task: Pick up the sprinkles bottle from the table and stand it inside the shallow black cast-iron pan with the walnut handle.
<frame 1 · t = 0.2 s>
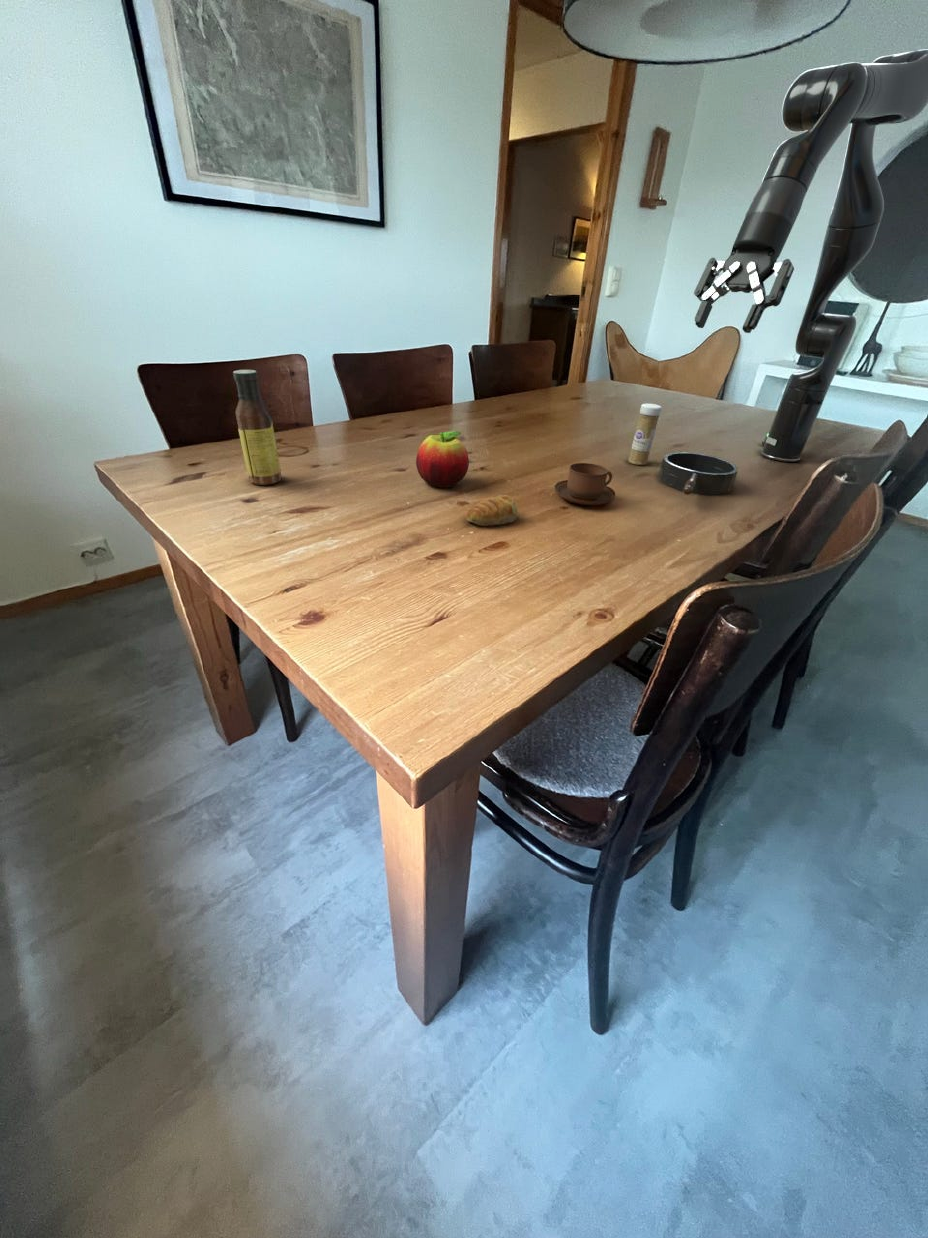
hand: (721, 328, 90), 31 cm above the table, tool tilted 20°, fingers open, 8 cm apart
sauce bottle: (265, 481, 104), on the table
pan: (694, 482, 118), on the table
cup and saucer: (582, 499, 105), on the table
sprinkles bottle: (637, 463, 128), on the table
fruit: (441, 483, 108), on the table
pastry: (492, 520, 94), on the table
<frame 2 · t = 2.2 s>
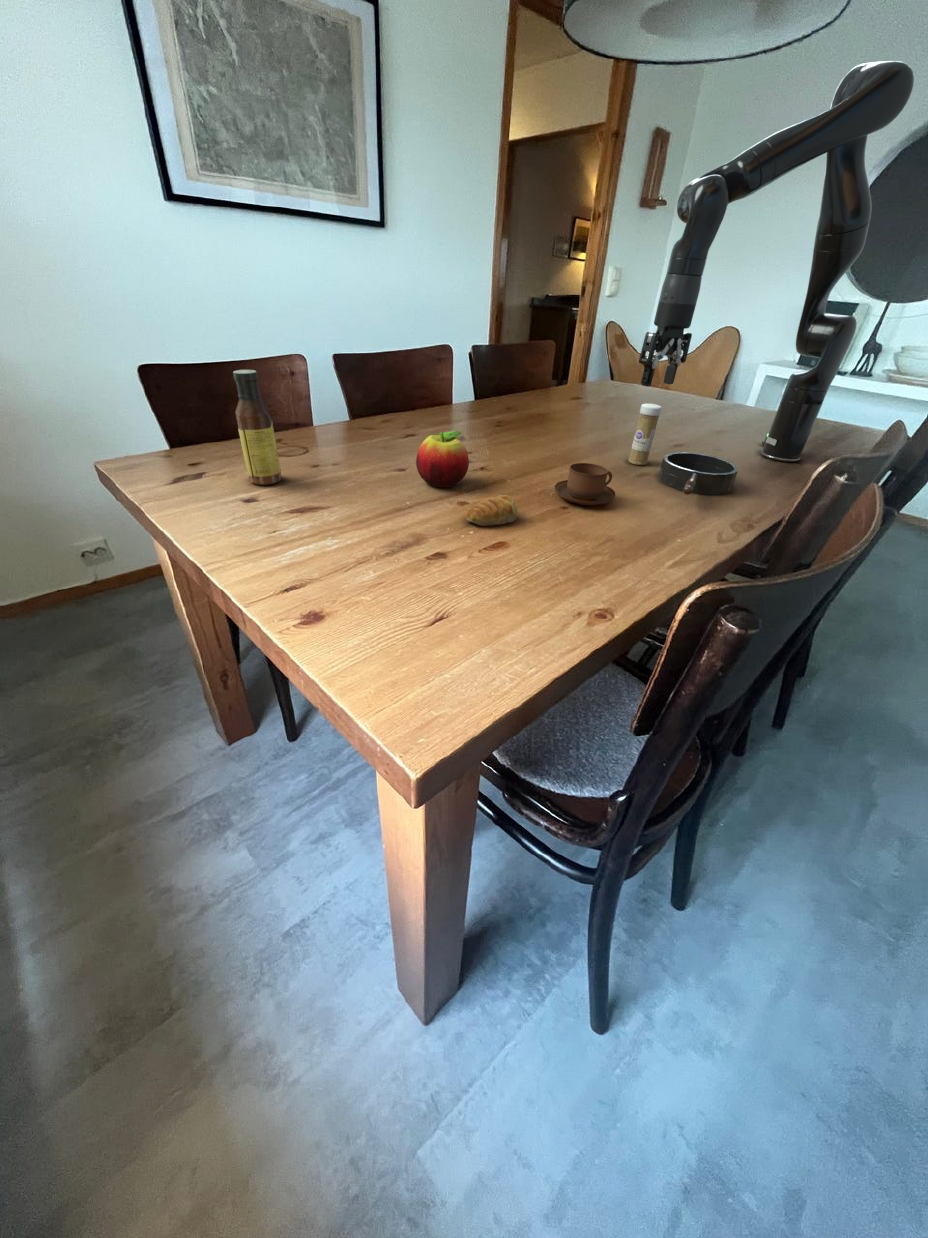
hand: (657, 384, 118), 18 cm above the table, tool pointing down, fingers open, 8 cm apart
nothing on the table moved.
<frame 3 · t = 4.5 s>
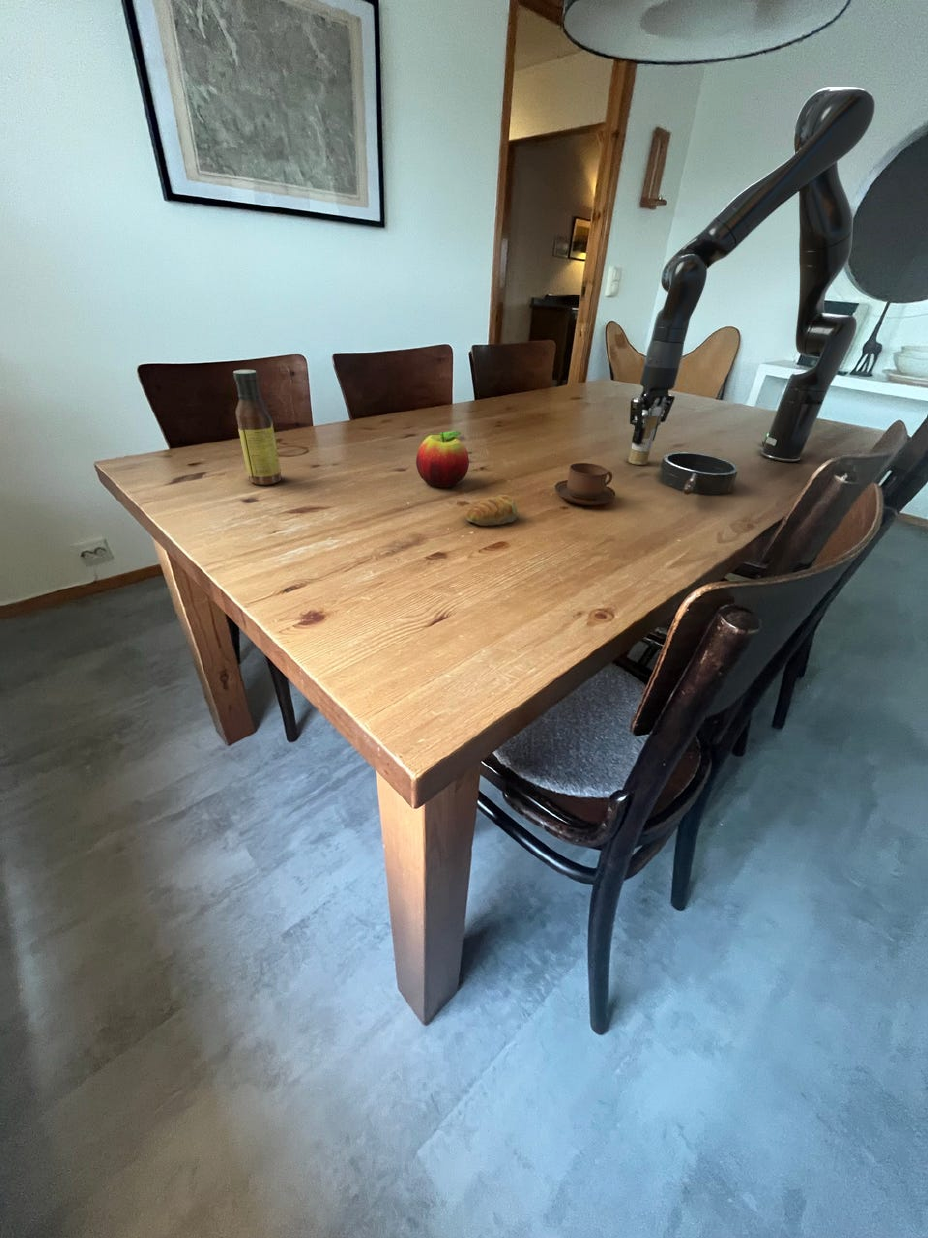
hand: (642, 441, 125), 5 cm above the table, tool pointing down, fingers closed on sprinkles bottle, 4 cm apart
sprinkles bottle: (637, 463, 128), on the table, touching gripper
everything else where it was.
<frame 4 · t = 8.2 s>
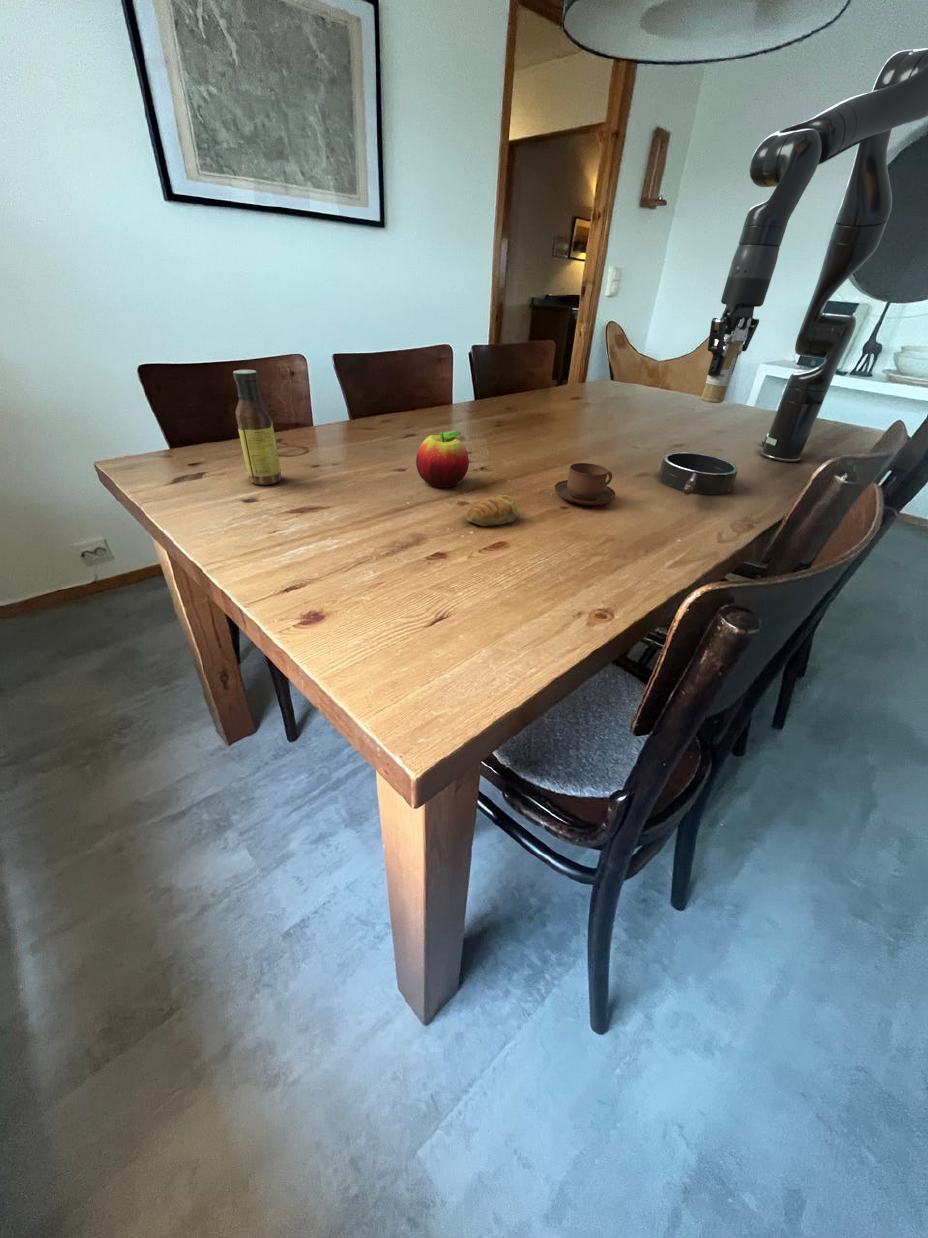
hand: (719, 374, 107), 22 cm above the table, tool pointing down, fingers closed on sprinkles bottle, 4 cm apart
sprinkles bottle: (711, 402, 110), point 17 cm above the table, touching gripper
everything else where it was.
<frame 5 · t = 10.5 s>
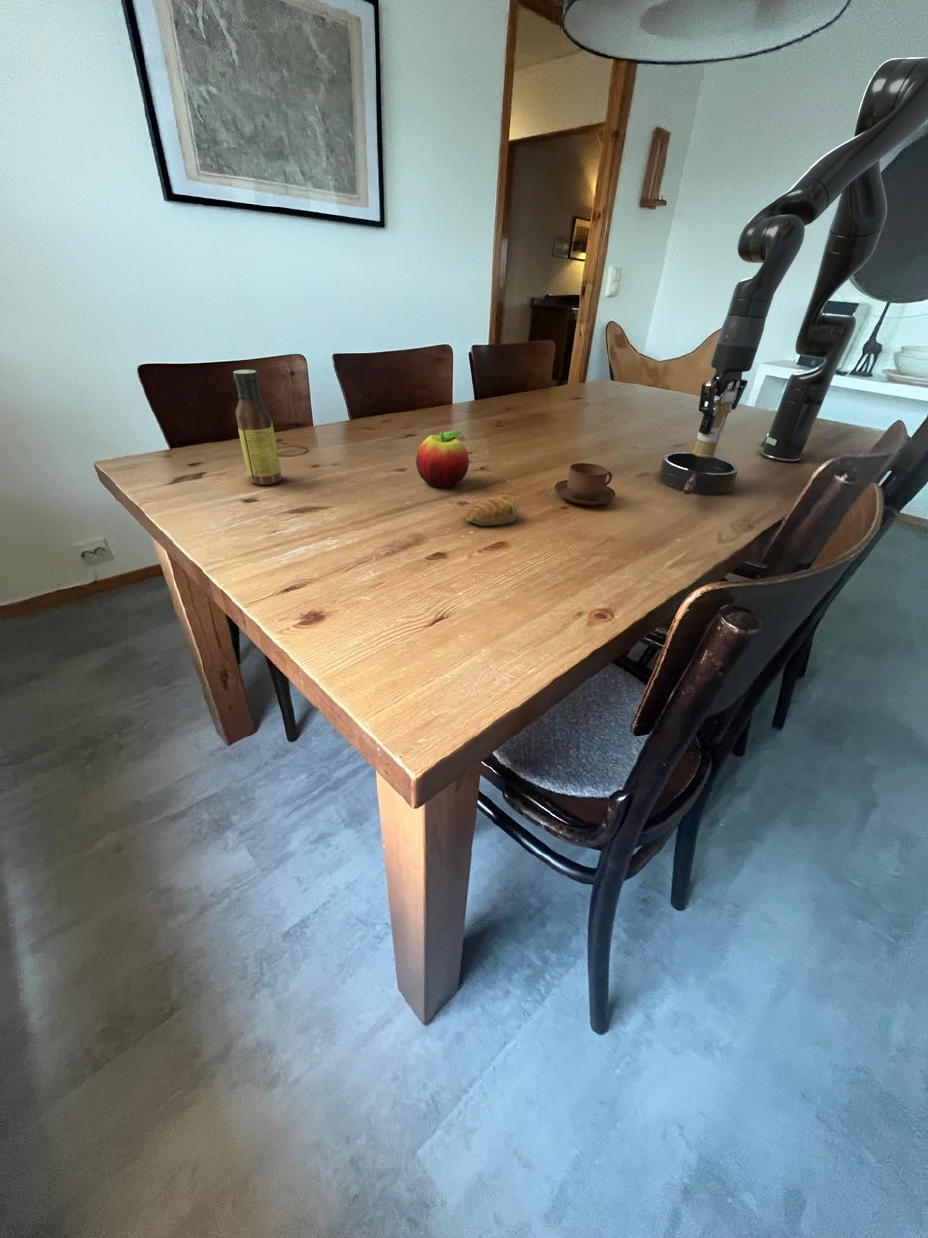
hand: (710, 431, 112), 11 cm above the table, tool pointing down, fingers closed on sprinkles bottle, 4 cm apart
sprinkles bottle: (702, 456, 115), point 6 cm above the table, touching gripper
everything else where it was.
when the fingers open (6 cm above the table, at t = 12.2 s): sprinkles bottle stays where it is, resting on pan.
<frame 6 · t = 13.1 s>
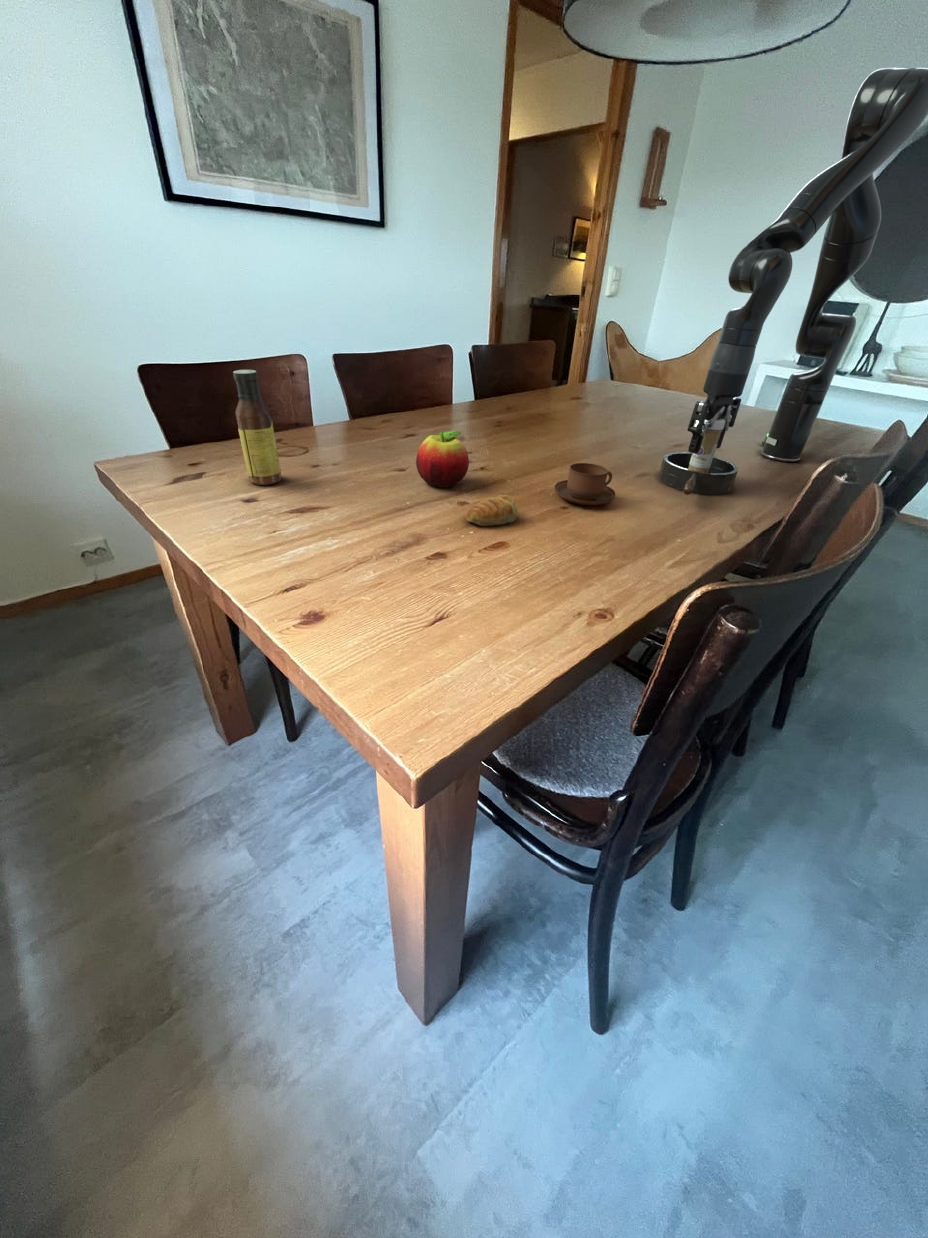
hand: (704, 450, 114), 7 cm above the table, tool pointing down, fingers open, 8 cm apart
sprinkles bottle: (694, 481, 118), resting on pan
everything else where it was.
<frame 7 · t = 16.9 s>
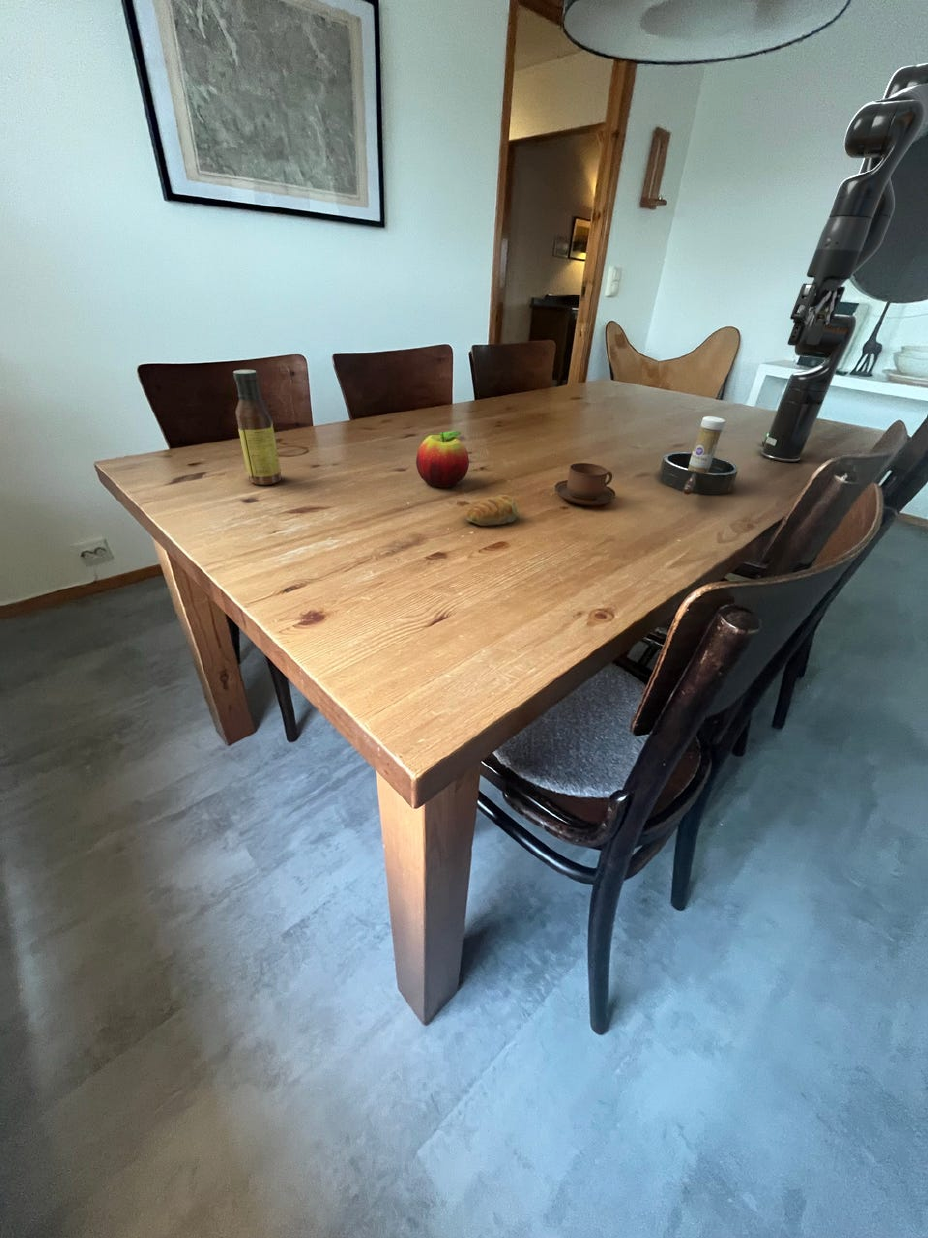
hand: (802, 344, 107), 28 cm above the table, tool pointing down, fingers open, 8 cm apart
nothing on the table moved.
at the end: sprinkles bottle inside the target area in the pan (0.1 cm from its centre), point 0.3 cm above the pan's base; sprinkles bottle tilted 0°; the gripper is holding nothing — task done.
